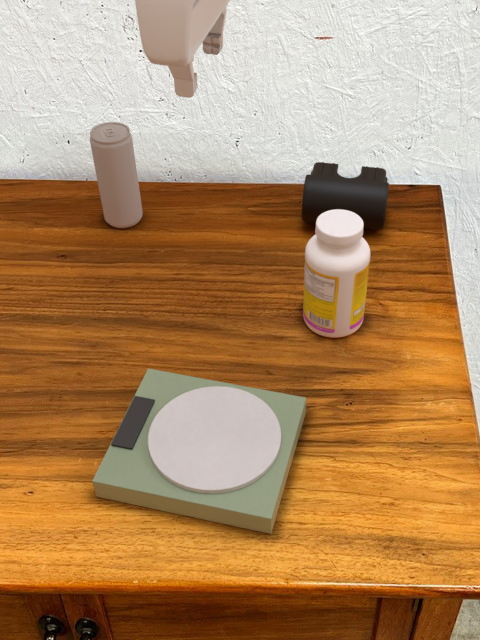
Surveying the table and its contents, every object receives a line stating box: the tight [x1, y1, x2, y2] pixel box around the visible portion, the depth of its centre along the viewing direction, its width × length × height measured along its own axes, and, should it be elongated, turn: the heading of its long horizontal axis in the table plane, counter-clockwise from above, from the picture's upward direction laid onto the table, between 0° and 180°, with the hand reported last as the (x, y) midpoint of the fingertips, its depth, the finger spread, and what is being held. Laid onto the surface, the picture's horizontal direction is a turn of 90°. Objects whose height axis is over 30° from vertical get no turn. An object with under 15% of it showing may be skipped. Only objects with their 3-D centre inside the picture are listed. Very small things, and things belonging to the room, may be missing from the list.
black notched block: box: [301, 161, 390, 231], centre depth 95 cm, size 10×7×7 cm
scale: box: [91, 368, 307, 535], centre depth 71 cm, size 16×14×3 cm
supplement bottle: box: [302, 209, 371, 339], centre depth 80 cm, size 7×7×13 cm
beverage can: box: [89, 121, 144, 229], centre depth 93 cm, size 5×5×12 cm
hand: (200, 71), depth 76 cm, fingers open, 8 cm apart
